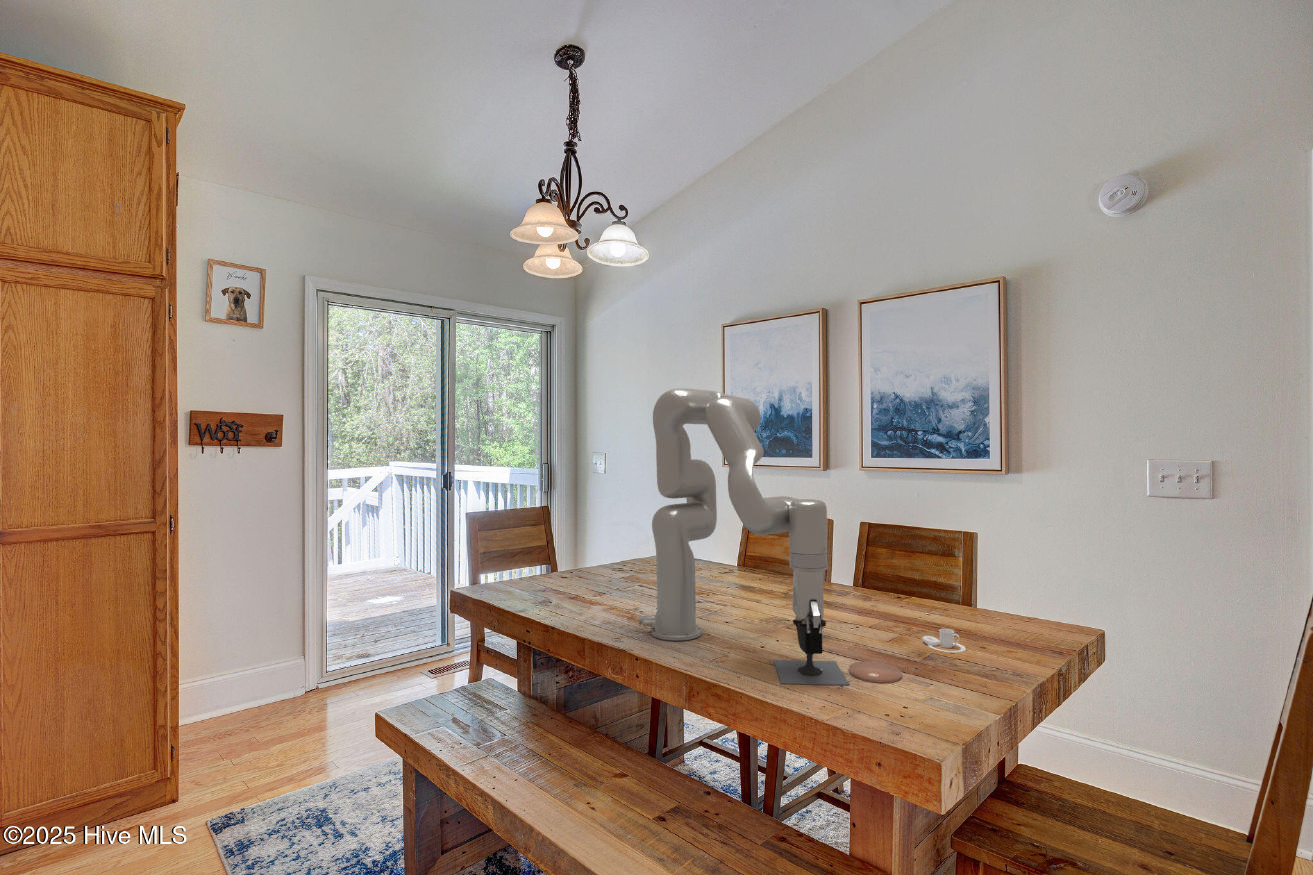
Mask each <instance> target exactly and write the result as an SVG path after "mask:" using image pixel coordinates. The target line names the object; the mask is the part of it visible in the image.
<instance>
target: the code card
mask: <svg viewBox="0 0 1313 875" xmlns="http://www.w3.org/2000/svg"><path fill="white" fill-rule="evenodd" d="M812 661H813V665H814V667H817V668H819V669H821V670H822V673H821V674H820V675H815V676H809V675H804V674H801V673H799V672H798V671H797V669H798V668H799V667H803V666H805V665H806V662H807V660H795V659H794V660H792V659H790V660H789V659H787V660H785V659H782V660H781V659H773V664H774V667H775V671H776V673H777V676H778V679H779V683H780V685H808V686H809V685H811V686H850V685H851V684H850V683H849V681H848V680H847V678H846V677H845V675H844V673H843V671H842V670H841V668H840V666H839V665H838V663H837V662H836V661H837V660H812Z"/></svg>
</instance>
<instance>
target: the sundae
mask: <svg viewBox="0 0 1313 875" xmlns="http://www.w3.org/2000/svg"><path fill="white" fill-rule="evenodd" d="M809 608H810V607H809ZM820 616H821V615H820ZM823 616H824V614H823ZM808 617H812V616H808ZM810 623H811V622H809V625H810ZM792 624H793V625H794V626H795V627H796V632H797V633H796V634H797V639H798V646H799V648H800V650H801V651H802V652H803V653H805V655H806V661H807V662H806V665H805V666H803V667H799V668H798V669H797V671H798V672H799V673H801V674H804V675H809V676H815V675H820V674H821V673H822V670H821V669H819V668H817V667H814V665H813V661H814V660H813V656H814V654H807V653H806V652H805V632H807V630H806V622H805V619H802V621H800V620H799V619H798V618H797V617H796V616H795V617H794V619H793V620H792ZM826 625H827V620H825V619H822V620H821V629H822V630H823V628H824V627H827V626H826Z"/></svg>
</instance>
